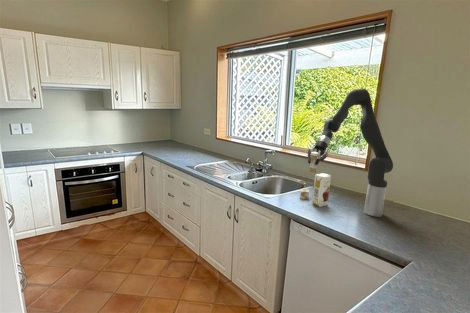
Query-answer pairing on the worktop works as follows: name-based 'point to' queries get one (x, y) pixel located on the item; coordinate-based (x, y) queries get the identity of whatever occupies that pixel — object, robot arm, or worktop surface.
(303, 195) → the beech block
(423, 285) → the worktop surface
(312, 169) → the sprinkles bottle
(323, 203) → the juice carton
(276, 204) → the worktop surface
